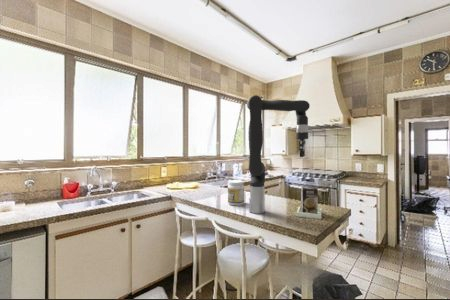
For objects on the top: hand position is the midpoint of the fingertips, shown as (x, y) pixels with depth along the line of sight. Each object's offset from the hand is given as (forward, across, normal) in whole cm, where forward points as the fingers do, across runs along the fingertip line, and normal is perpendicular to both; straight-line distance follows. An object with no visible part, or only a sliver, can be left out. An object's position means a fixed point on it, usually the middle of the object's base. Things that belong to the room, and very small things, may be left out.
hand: (302, 156), depth 156 cm
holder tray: (+36, +8, +5) cm, 37 cm away
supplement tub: (+36, 0, -47) cm, 59 cm away
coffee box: (+35, +8, +5) cm, 37 cm away
